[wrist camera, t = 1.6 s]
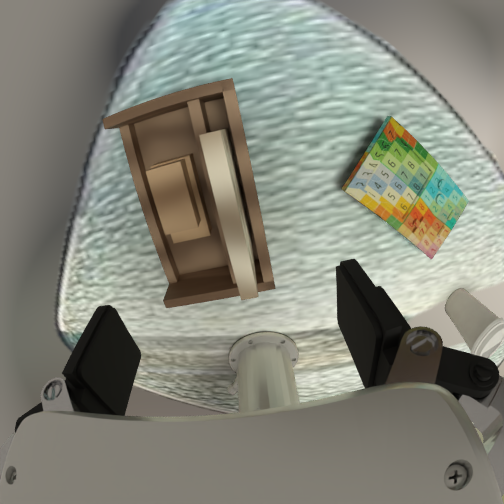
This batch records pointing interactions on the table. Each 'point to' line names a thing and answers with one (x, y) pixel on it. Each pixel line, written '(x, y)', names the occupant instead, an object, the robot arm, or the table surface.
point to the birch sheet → (230, 209)
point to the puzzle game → (407, 188)
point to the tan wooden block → (179, 198)
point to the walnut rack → (187, 142)
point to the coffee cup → (475, 323)
